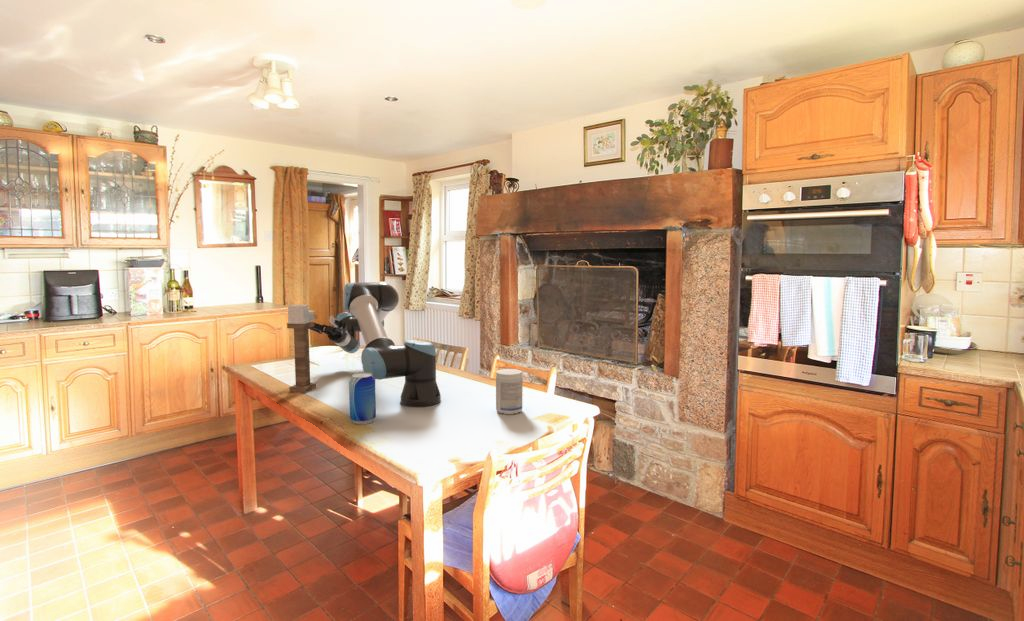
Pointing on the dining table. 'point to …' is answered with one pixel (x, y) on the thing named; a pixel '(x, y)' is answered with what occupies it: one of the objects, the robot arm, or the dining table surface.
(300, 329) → the walnut stand
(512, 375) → the supplement tub
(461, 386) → the dining table surface
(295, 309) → the grey block
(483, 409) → the dining table surface
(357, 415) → the beer can
